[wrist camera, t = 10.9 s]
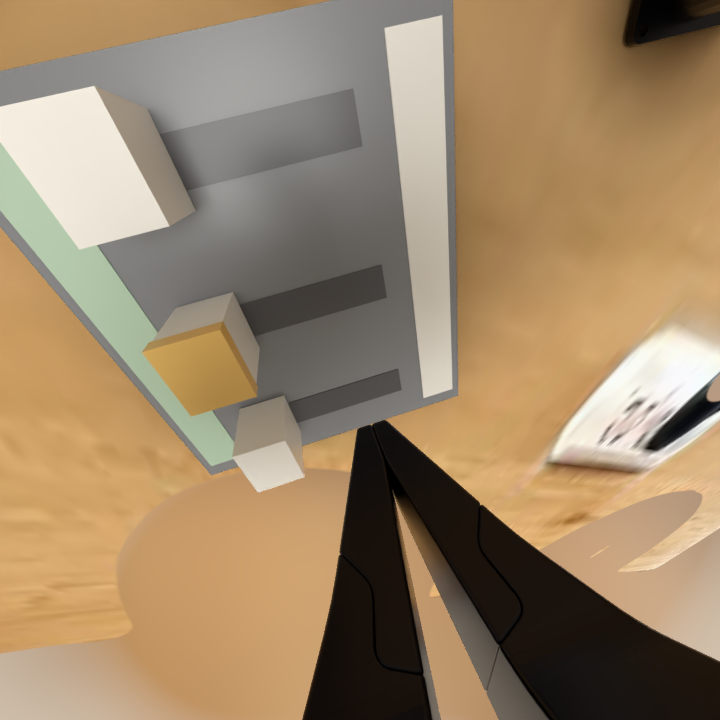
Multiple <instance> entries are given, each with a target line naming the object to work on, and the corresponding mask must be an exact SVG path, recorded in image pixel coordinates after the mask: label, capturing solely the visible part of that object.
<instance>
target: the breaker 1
mask: <svg viewBox="0 0 720 720" xmlns="http://www.w3.org/2000/svg"><path fill="white" fill-rule="evenodd" d="M0 143H1V144H2V145H3V147H4V148H5V149H6V151H7V152H8V153H9V155H10V156H11V158H12V159H13V160H14V162H15V163H16V164H17V166H18V167H19V168H20V170H21V171H22V172H23V174H24V175H25V177H26V178H27V179H28V181H29V182H30V183H31V185H32V186H33V187H34V189H35V190H36V191H37V193H38V194H39V196H40V197H41V198H42V200H43V201H44V202H45V204H46V205H47V206H48V208H49V209H50V211H51V212H52V213H53V215H54V216H55V217H56V219H57V220H58V221H59V223H60V224H61V225H62V227H63V228H64V230H65V231H66V232H67V234H68V235H69V236H70V238H71V239H72V240H73V242H74V243H75V244H76V246H77V247H78V249H79V250H80V249H84V248H88V247H91V246H95V245H99V244H103V243H107V242H111V241H115V240H118V239H122V238H126V237H130V236H134V235H138V234H142V233H145V232H149V231H153V230H157V229H161V228H165V227H169V226H171V225H173V224H174V223H176V222H178V221H179V220H181V219H183V218H185V217H186V216H188V215H190V214H191V213H193V212H195V211H196V210H195V208H194V206H193V204H192V202H191V200H190V197H189V195H188V193H187V191H186V189H185V187H184V185H183V183H182V181H181V179H180V176H179V174H178V172H177V170H176V168H175V166H174V164H173V162H172V160H171V158H170V156H169V153H168V151H167V149H166V147H165V145H164V143H163V141H162V139H161V137H160V135H159V132H158V130H157V128H156V126H155V124H154V122H153V120H152V118H151V116H150V114H149V111H148V109H147V108H146V107H143V106H141V105H139V104H136V103H134V102H131V101H129V100H127V99H124V98H122V97H120V96H117V95H115V94H112V93H110V92H108V91H105V90H103V89H101V88H98V87H96V86H91V87H87V88H82V89H78V90H73V91H69V92H64V93H60V94H55V95H51V96H46V97H42V98H37V99H32V100H28V101H23V102H19V103H14V104H10V105H5V106H1V107H0Z"/></svg>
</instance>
